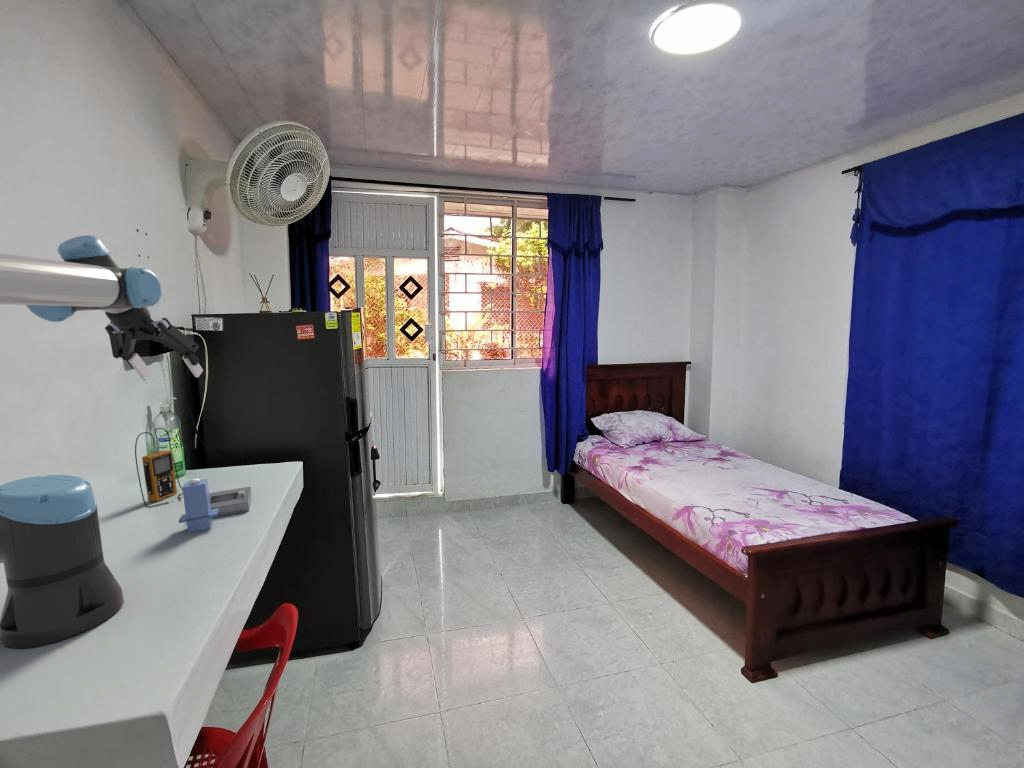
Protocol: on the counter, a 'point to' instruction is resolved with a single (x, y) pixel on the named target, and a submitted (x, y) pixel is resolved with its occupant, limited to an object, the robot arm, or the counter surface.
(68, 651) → the counter surface
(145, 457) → the multimeter
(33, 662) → the counter surface
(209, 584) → the counter surface
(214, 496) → the plate
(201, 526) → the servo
